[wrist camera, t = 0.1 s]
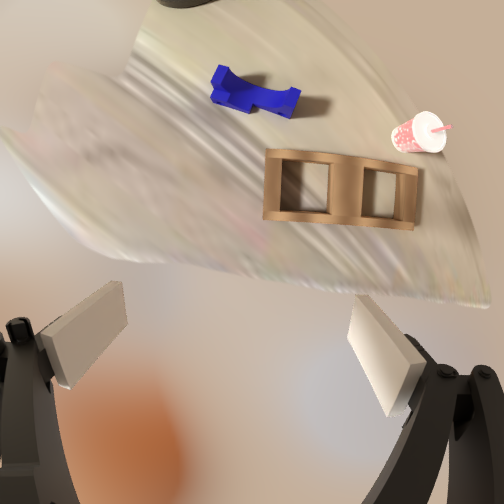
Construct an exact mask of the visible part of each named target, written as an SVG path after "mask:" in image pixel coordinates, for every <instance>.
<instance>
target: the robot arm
mask: <svg viewBox="0 0 504 504" xmlns="http://www.w3.org/2000/svg"><path fill="white" fill-rule="evenodd" d="M157 1H158V2H159V3H160V4H162V5H164V6H167V7H172V8H185V7H191V6H196V5H199V4H202V3H205V2H208V1H210V0H157ZM127 324H128V322H127V315H126V309H125V302H124V294H123V286H122V282H118V281H110V282H109V283H108V284H106V285H104V286H103V287H102V288H100V289H99V290H97V291H96V292H94V293H93V294H92V295H90V296H89V297H88V298H86V299H85V300H83V301H82V302H80V303H79V304H78V305H76V306H75V307H74V308H72V309H71V310H69V311H68V312H67V313H65V314H64V315H62V316H60V317H58V318H57V319H56V320H54V322H52V323H50V324H49V326H46V327H45V328H44V329H43V330H41V331H40V332H39V333H37V334H36V335H35V336H34V333H33V330H32V327H31V324H30V320H29V319H28V318H25V317H18V318H14V319H12V320H10V321H9V322H8V323H7V324H6V329H7V331H8V335H9V338H10V341H11V342H5V341H4V338H3V335H2V333H1V332H0V459H1V458H2V467H1V468H0V504H80V502H79V500H78V497H77V494H76V491H75V489H74V486H73V483H72V480H71V476H70V473H69V469H68V466H67V462H66V458H65V454H64V450H63V446H62V441H61V437H60V431H59V426H58V420H57V414H56V407H55V400H54V391H53V384H52V382H51V380H50V379H51V378H52V377H53V376H54V375H55V377H56V380H57V382H58V385H59V386H62V387H64V388H67V389H69V390H71V389H72V388H73V387H74V386H75V384H76V383H77V382H78V381H79V380H80V379H81V377H82V376H83V375H84V374H85V372H86V371H87V370H88V369H89V368H90V367H91V366H92V364H93V363H94V362H95V361H96V360H97V359H98V357H99V356H100V355H101V354H102V353H103V352H104V350H105V349H106V348H107V347H108V346H109V345H110V344H111V342H112V341H113V340H114V339H115V338H116V337H117V336H118V335H119V333H120V332H121V331H122V330H123V329H124V328H125V327H126V326H127ZM347 339H348V341H349V343H350V344H351V346H352V348H353V350H354V352H355V354H356V356H357V358H358V360H359V362H360V364H361V366H362V368H363V369H364V372H365V374H366V376H367V378H368V380H369V382H370V383H371V386H372V388H373V389H374V392H375V393H376V396H377V398H378V400H379V402H380V404H381V406H382V408H383V410H384V412H385V414H386V417H393V416H398V415H402V414H403V413H404V410H405V409H406V407H407V405H409V407H410V408H411V412H410V414H409V416H408V418H407V419H406V422H405V423H404V425H403V426H402V428H403V430H402V432H401V435H400V436H399V439H398V441H397V443H396V445H395V447H394V449H393V451H392V453H391V455H390V457H389V459H388V461H387V462H386V464H385V466H384V468H383V470H382V472H381V473H380V475H379V477H378V479H377V480H376V482H375V483H374V485H373V487H372V488H371V490H370V492H369V493H368V495H367V496H366V498H365V499H364V501H363V502H362V504H427V502H428V500H429V498H430V495H431V493H432V490H433V488H434V485H435V482H436V479H437V476H438V473H439V470H440V467H441V464H442V461H443V457H444V454H445V450H446V447H447V443H448V439H449V484H448V497H447V504H504V393H503V390H502V387H501V385H500V382H499V379H498V377H497V374H496V373H495V371H494V370H493V369H491V368H490V367H488V366H486V365H477V366H475V367H474V368H473V370H472V372H471V374H470V375H459V373H458V372H457V370H456V369H454V368H453V367H451V366H449V365H446V364H437V363H436V362H435V361H434V359H433V358H432V357H431V356H430V355H429V354H428V353H427V352H426V351H425V350H424V348H423V347H422V346H420V344H419V342H418V341H417V340H416V339H415V338H413V337H411V336H410V335H408V334H403V333H402V332H401V331H400V330H399V329H398V327H397V326H396V325H395V324H394V323H393V322H392V321H391V319H390V318H389V317H388V316H387V315H386V314H385V313H384V312H383V311H382V310H381V309H380V307H379V306H378V305H377V304H376V303H375V302H374V301H373V300H372V299H371V298H370V296H369V295H355V301H354V307H353V312H352V317H351V322H350V327H349V332H348V336H347Z"/></svg>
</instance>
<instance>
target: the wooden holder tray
mask: <svg viewBox="0 0 504 504" xmlns="http://www.w3.org/2000/svg"><path fill="white" fill-rule="evenodd" d="M282 161H292V162H305V163H316V164H326V165H329V171H328V192H327V208H326V213H322V212H308V211H292V210H280V195H281V172H282ZM364 169H367V170H374V171H380V172H386V173H392V174H396V191H395V205H394V217H393V219H390V218H380V217H370V216H361V208H362V193H363V174H364ZM417 181H418V168H415V167H410V166H405V165H400V164H395V163H390V162H384V161H378V160H372V159H366V158H359V157H352V156H345V155H337V154H328V153H319V152H308V151H297V150H283V149H266V154H265V179H264V202H263V220H276V221H295V222H312V223H327V224H341V225H355V226H367V227H379V228H391V229H401V230H412V231H413V230H414V222H415V211H416V199H417Z"/></svg>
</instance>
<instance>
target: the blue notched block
mask: <svg viewBox="0 0 504 504" xmlns="http://www.w3.org/2000/svg"><path fill="white" fill-rule="evenodd" d="M211 84H212V86H213V88H214V90H213V92H212V94H211V96H210V98H211V100H212V101H213V103H216V104H219V105H222V106H226V107H229V108H232V109H236V110H239V111H242V112H245V113H248V114H250V111H251V109H252V107H253V106H255V107H258V108H261V109H264V110H267V111H270V112H272V113H275V114H278V115H280V116H283V117H286V118H288V119H290V117H291V115H292V112H293V110H294V108H295V105H296V103H297V100H298V98H299V96H300V93H301V90H299V89H296V88H293V87H291V88H290V89H288V90H285V91H275V90H269V89H265V88H261V87H258V86H255V85H253V84H251V83H248V82H246V81H244V80H242V79H241V78H239V77H238V76H236V75H235V74H234V73H233V72H232V71H231V70H230V69H229V67H227V66H223V65H218V67H217V69H216V71H215V73H214V75H213V77H212V80H211Z"/></svg>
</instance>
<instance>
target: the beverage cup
mask: <svg viewBox="0 0 504 504" xmlns="http://www.w3.org/2000/svg"><path fill="white" fill-rule="evenodd" d="M451 128H453V125H448V126H444V125H443V123H442V121H441V120H440V119H439V118H438V117H437V116H436V115H435V114H433V113H431V112H427V111H424V112H421V113H419V114H417V115H416V116H415V118H413V119H411V120H409V121H407V122H406V123H404V124H402V125H400V126H398V127H396V128H395V129H394V130H393V132H392V136H391V137H392V142H393V144H394V146H395V148H396V149H397V150H399V151H401V152H423V151H427V152H432V153H437V152H439V151H441V150H443V148H444V146H445V144H446V137H447V136H446V130H447V129H451Z"/></svg>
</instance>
